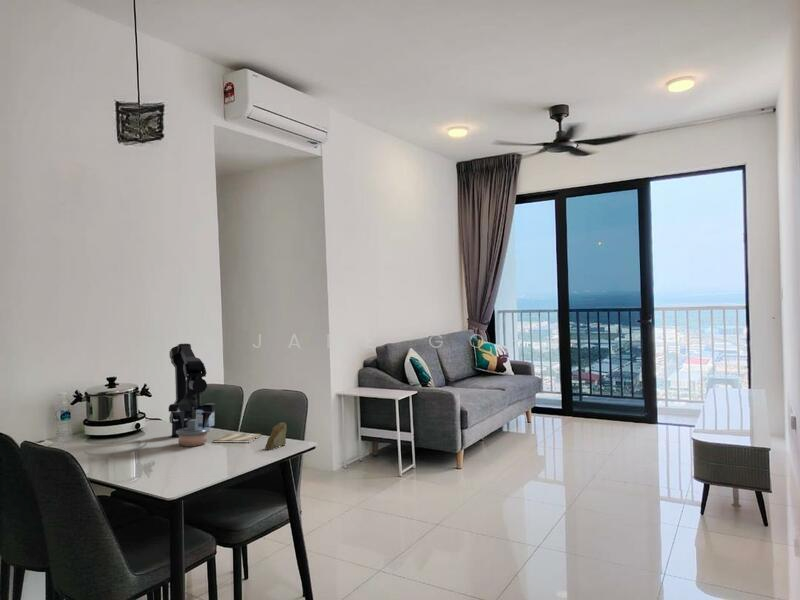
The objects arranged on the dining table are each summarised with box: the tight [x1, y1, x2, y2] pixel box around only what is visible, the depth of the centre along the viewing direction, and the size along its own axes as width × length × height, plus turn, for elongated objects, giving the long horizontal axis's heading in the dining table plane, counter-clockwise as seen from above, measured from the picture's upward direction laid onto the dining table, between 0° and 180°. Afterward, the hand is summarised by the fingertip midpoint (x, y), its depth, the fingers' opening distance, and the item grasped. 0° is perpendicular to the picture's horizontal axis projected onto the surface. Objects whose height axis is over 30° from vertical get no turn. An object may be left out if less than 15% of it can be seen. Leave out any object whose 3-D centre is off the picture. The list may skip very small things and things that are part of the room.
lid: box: [176, 418, 210, 435], centre depth 223 cm, size 13×13×5 cm
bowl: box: [177, 432, 208, 447], centre depth 223 cm, size 11×11×5 cm
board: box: [212, 433, 262, 442], centre depth 232 cm, size 16×14×1 cm
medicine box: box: [195, 410, 216, 428], centre depth 266 cm, size 8×4×9 cm, turn 73°
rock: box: [264, 421, 287, 451], centre depth 217 cm, size 11×9×10 cm
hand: (192, 428), depth 223 cm, fingers open, 9 cm apart
